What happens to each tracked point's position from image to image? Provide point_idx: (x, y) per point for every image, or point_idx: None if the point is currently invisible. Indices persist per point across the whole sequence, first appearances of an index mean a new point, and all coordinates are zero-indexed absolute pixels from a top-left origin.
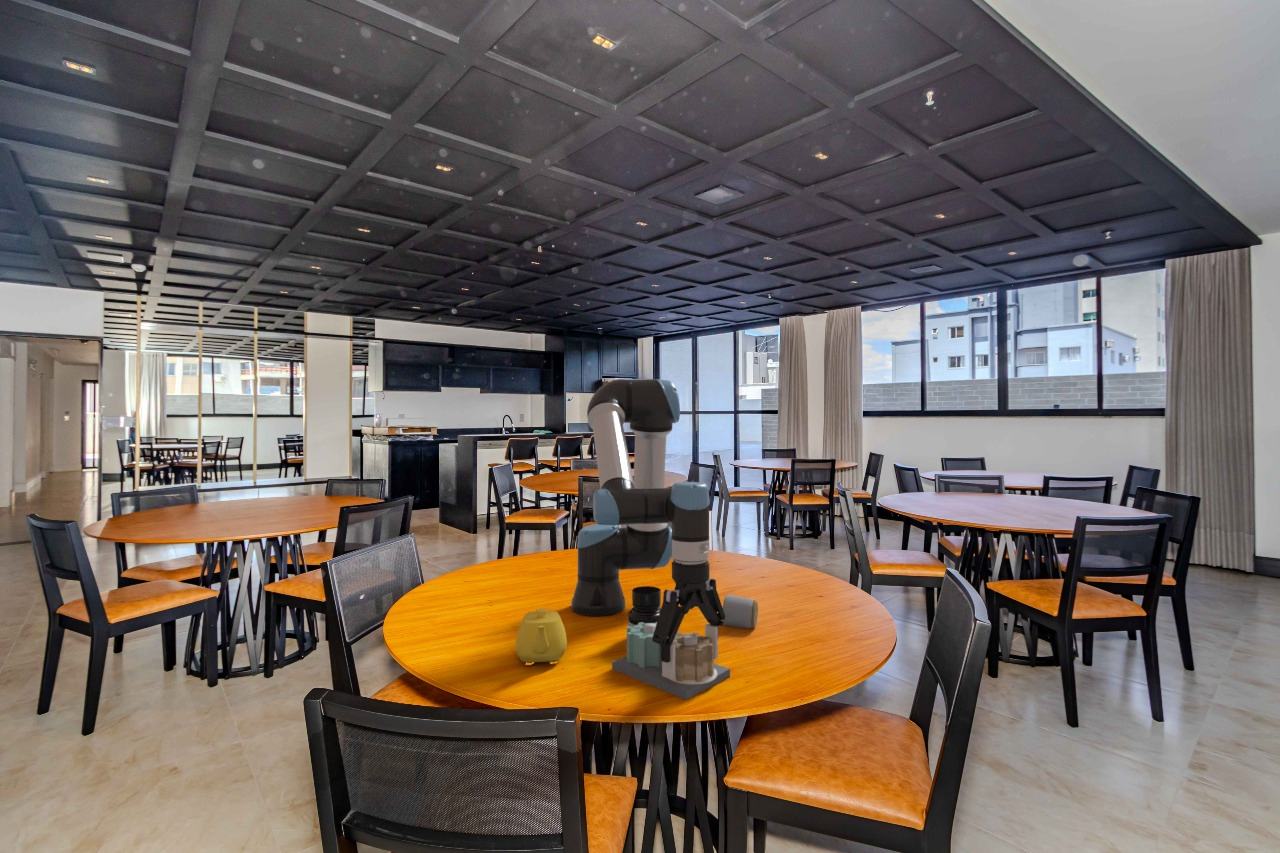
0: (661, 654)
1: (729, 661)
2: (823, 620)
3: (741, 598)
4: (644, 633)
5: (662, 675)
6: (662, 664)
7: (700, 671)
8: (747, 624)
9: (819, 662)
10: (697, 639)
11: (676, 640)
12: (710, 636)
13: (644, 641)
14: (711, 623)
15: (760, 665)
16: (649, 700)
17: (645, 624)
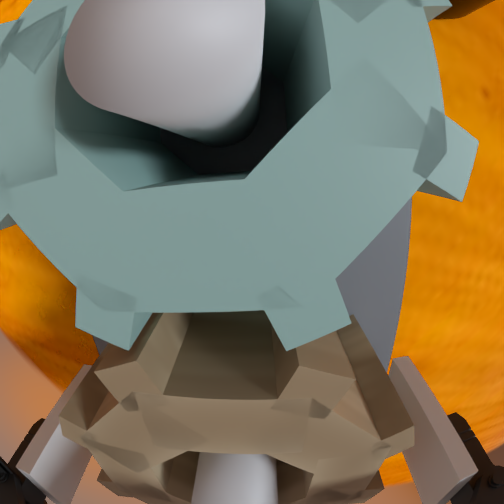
0: (27, 439)
1: (465, 328)
2: None
3: None
4: (44, 113)
5: (83, 367)
6: (62, 396)
7: None
8: None
9: (500, 419)
10: (307, 492)
11: (170, 457)
12: (423, 454)
13: (10, 224)
14: (465, 494)
15: (465, 389)
16: (52, 341)
17: None
